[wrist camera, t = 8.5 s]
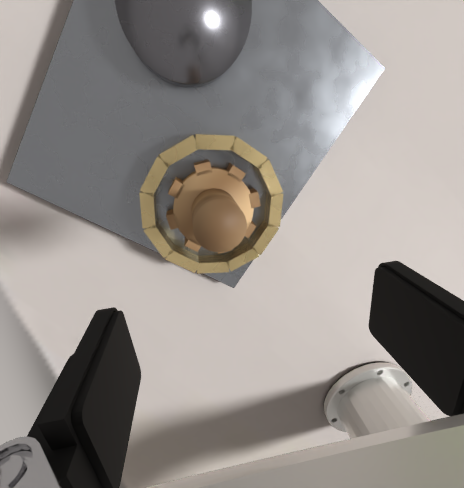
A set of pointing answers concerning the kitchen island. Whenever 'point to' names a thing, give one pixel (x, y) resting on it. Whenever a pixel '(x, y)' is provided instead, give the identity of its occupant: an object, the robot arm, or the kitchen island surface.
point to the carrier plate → (189, 112)
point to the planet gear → (213, 207)
